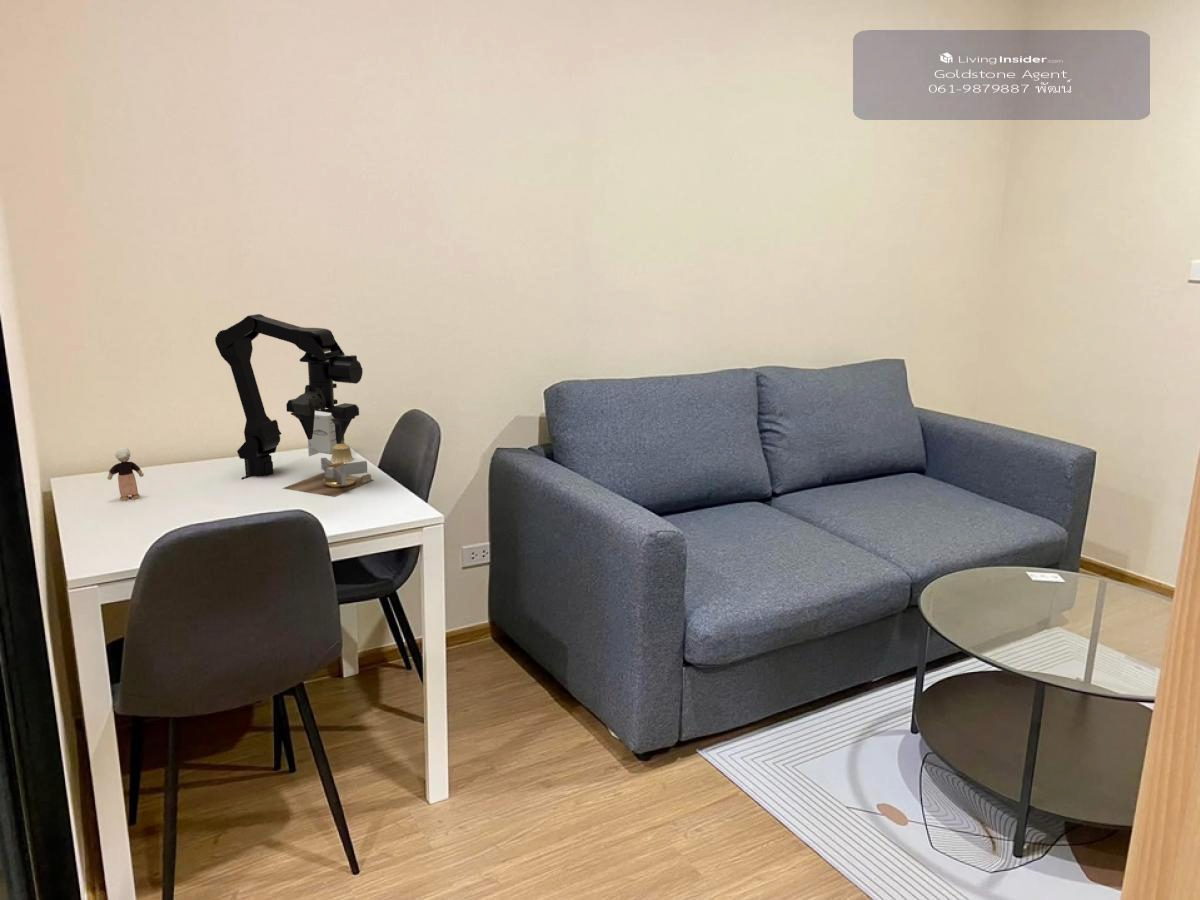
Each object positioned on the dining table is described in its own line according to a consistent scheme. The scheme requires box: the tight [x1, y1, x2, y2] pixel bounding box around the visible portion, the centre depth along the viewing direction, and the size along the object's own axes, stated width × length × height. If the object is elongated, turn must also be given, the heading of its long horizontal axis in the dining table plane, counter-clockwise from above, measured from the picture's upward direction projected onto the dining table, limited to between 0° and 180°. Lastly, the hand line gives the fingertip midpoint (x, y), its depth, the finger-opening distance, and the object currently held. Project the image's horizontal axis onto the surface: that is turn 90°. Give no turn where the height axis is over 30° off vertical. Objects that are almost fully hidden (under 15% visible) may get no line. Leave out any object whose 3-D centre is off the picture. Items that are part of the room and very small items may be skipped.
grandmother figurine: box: [107, 447, 145, 501], centre depth 222 cm, size 8×4×13 cm, turn 134°
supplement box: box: [307, 411, 337, 457], centre depth 265 cm, size 7×7×13 cm
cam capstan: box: [320, 457, 369, 487], centre depth 234 cm, size 11×17×5 cm, turn 32°
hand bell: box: [329, 436, 355, 464], centre depth 254 cm, size 8×8×16 cm
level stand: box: [282, 472, 375, 498], centre depth 233 cm, size 16×16×3 cm
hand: (324, 441), depth 233 cm, fingers open, 9 cm apart
